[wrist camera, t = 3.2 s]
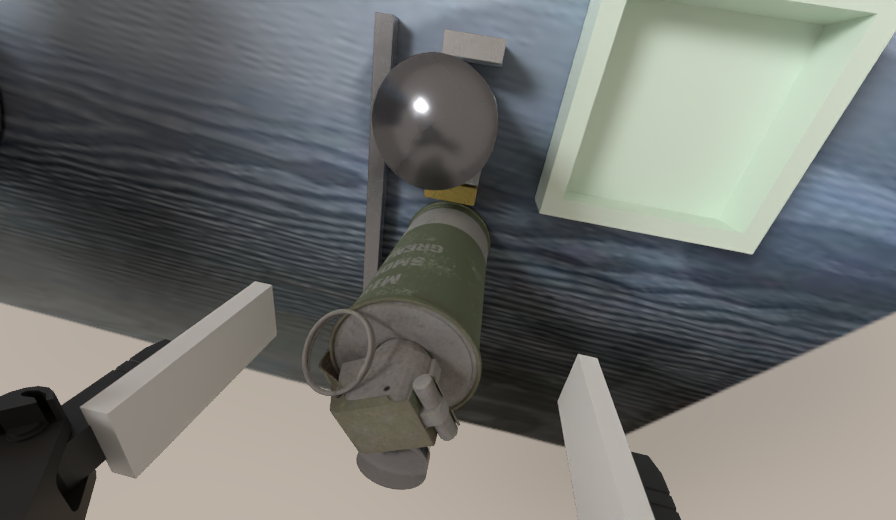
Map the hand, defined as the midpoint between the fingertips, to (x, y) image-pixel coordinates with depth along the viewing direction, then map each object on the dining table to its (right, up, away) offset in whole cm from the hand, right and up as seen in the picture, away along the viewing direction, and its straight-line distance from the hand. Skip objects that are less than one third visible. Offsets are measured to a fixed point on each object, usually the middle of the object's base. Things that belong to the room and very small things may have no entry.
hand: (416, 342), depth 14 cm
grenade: (+1, +5, +10) cm, 11 cm away
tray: (+13, +11, +4) cm, 18 cm away
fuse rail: (-1, +5, +9) cm, 11 cm away
